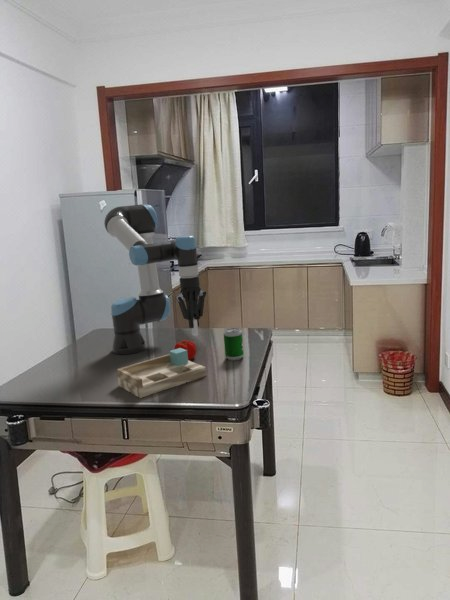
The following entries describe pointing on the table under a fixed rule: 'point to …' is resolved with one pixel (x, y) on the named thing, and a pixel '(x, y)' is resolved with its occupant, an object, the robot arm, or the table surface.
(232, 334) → the soda can
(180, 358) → the teal block
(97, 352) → the table surface
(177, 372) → the board
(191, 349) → the tomato
